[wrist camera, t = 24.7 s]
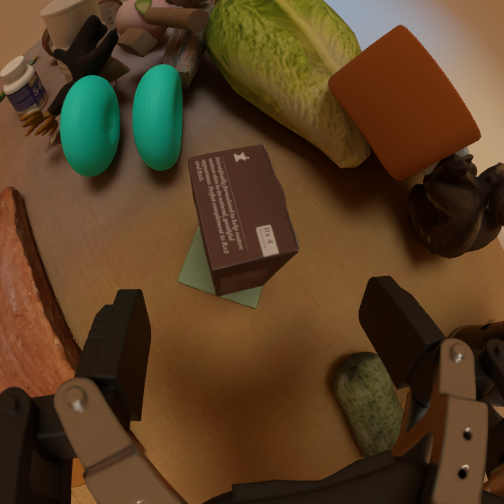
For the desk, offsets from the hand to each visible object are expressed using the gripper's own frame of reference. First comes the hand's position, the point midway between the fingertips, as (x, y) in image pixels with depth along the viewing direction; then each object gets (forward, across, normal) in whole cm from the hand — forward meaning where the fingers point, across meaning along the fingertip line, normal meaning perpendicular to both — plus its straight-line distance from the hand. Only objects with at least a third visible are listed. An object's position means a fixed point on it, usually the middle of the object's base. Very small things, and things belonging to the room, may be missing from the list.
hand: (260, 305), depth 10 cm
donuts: (+23, +9, -2) cm, 25 cm away
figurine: (+20, +12, -16) cm, 28 cm away
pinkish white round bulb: (+39, +12, -18) cm, 44 cm away
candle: (+31, +17, -10) cm, 37 cm away
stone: (+34, +7, -14) cm, 37 cm away
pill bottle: (+31, +28, -10) cm, 43 cm away
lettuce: (+28, -7, -7) cm, 29 cm away
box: (+14, 0, +7) cm, 15 cm away
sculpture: (+16, -22, +5) cm, 28 cm away
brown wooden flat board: (+9, +22, +12) cm, 26 cm away
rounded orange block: (+20, -17, -13) cm, 29 cm away
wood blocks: (+27, +14, -14) cm, 33 cm away
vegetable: (+3, -12, +18) cm, 22 cm away
